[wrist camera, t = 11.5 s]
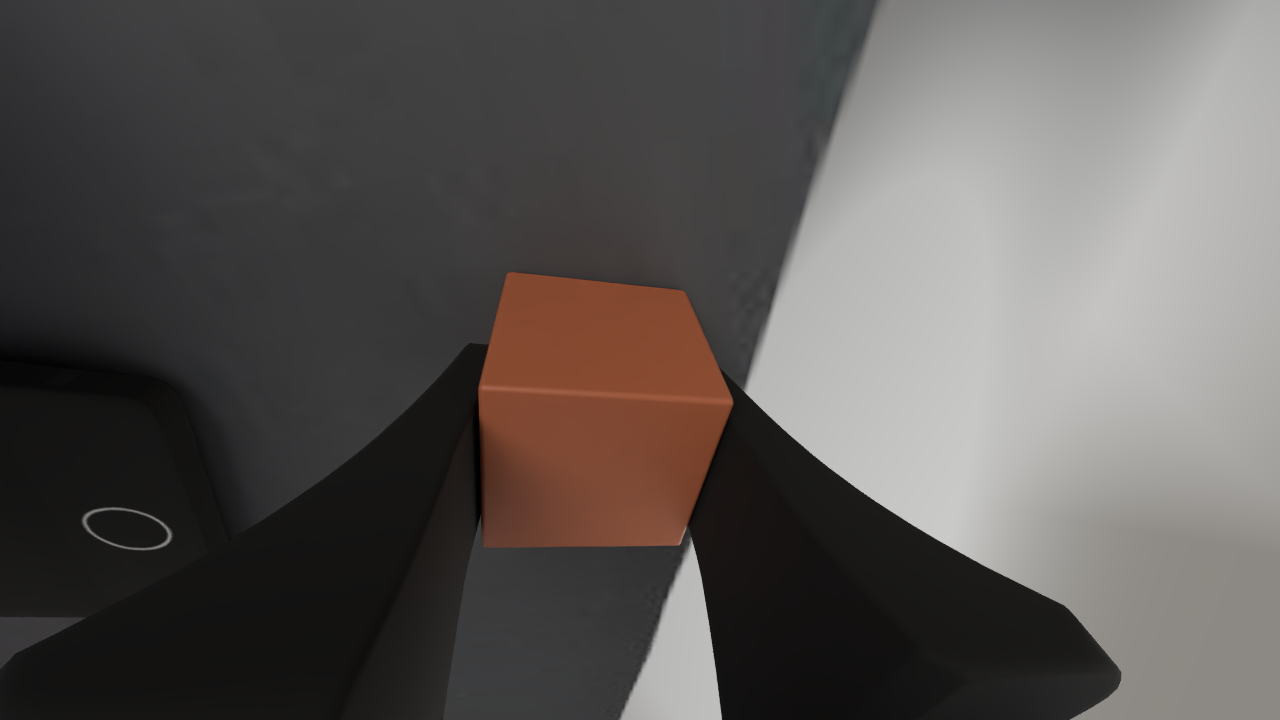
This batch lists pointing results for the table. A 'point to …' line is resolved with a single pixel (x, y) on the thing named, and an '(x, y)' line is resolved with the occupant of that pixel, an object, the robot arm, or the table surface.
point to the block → (595, 415)
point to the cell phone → (95, 489)
